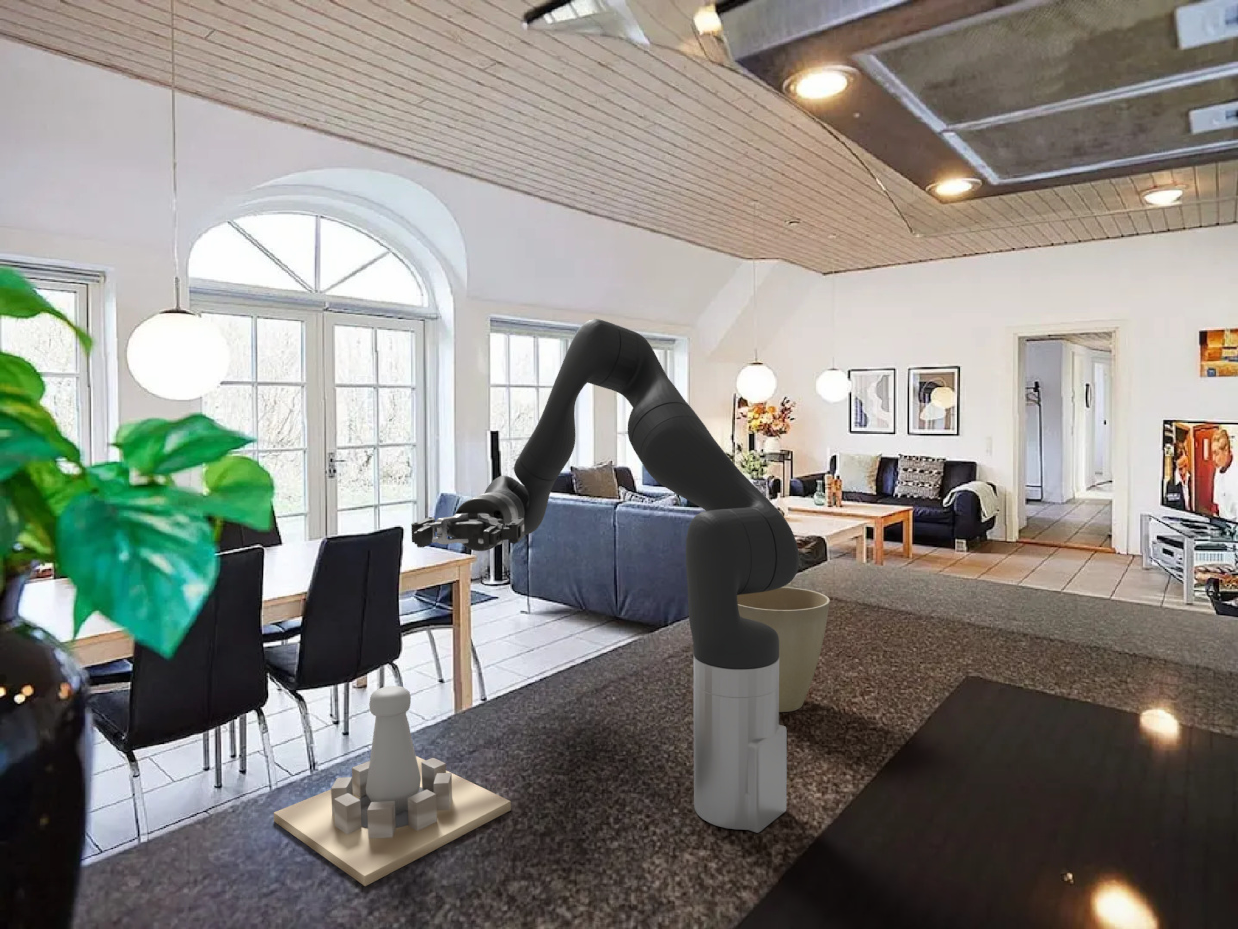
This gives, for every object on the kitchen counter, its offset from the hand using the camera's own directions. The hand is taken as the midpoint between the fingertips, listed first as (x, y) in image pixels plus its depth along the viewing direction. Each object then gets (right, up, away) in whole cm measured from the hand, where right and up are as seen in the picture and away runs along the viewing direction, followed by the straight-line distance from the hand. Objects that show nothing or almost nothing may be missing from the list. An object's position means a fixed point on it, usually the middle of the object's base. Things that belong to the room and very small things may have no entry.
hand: (452, 539), depth 98 cm
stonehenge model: (-4, -29, -12) cm, 32 cm away
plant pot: (+44, -26, +19) cm, 55 cm away
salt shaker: (-4, -28, -12) cm, 31 cm away
